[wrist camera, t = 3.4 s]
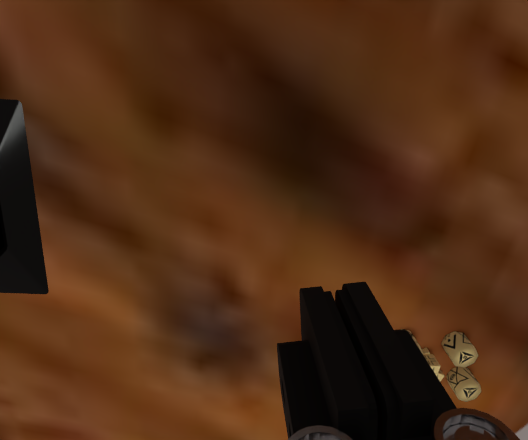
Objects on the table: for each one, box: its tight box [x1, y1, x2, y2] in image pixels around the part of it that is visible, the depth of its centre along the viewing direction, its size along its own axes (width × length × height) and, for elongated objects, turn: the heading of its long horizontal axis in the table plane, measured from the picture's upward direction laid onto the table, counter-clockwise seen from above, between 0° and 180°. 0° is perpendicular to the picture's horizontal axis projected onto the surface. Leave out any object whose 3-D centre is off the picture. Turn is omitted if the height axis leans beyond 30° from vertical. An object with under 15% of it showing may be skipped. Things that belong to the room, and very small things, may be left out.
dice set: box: [400, 329, 481, 402], centre depth 25 cm, size 5×5×2 cm
